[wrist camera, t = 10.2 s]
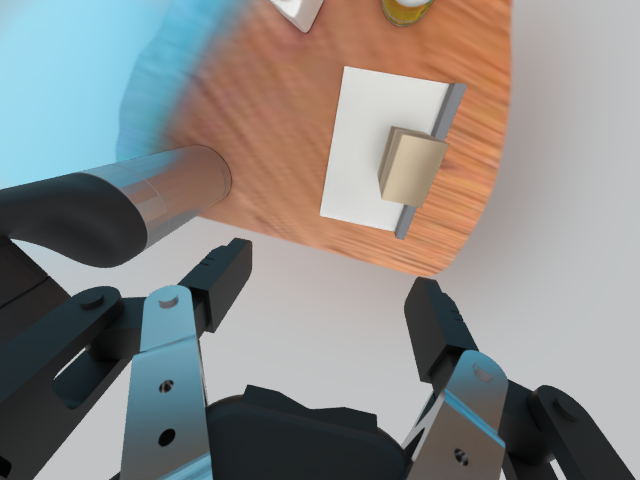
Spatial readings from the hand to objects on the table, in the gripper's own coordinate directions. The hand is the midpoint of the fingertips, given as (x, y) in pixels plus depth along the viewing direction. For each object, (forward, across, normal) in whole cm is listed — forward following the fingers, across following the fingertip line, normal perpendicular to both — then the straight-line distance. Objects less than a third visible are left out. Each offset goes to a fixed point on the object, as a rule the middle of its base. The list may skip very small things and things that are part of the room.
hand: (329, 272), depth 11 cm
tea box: (+24, -6, -3) cm, 25 cm away
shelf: (+26, -4, -1) cm, 26 cm away
